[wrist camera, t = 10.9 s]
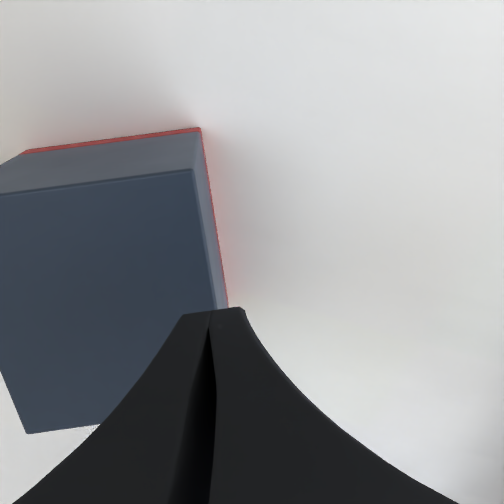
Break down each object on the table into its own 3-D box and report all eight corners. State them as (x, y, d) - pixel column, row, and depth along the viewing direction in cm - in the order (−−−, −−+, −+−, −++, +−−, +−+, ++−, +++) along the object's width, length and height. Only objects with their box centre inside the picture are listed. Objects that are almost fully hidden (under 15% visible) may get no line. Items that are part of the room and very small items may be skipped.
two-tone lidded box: (25, 436, 13) (80, 323, 19) (234, 406, 14) (228, 302, 19) (-71, 203, 11) (25, 149, 16) (194, 168, 11) (200, 126, 16)
